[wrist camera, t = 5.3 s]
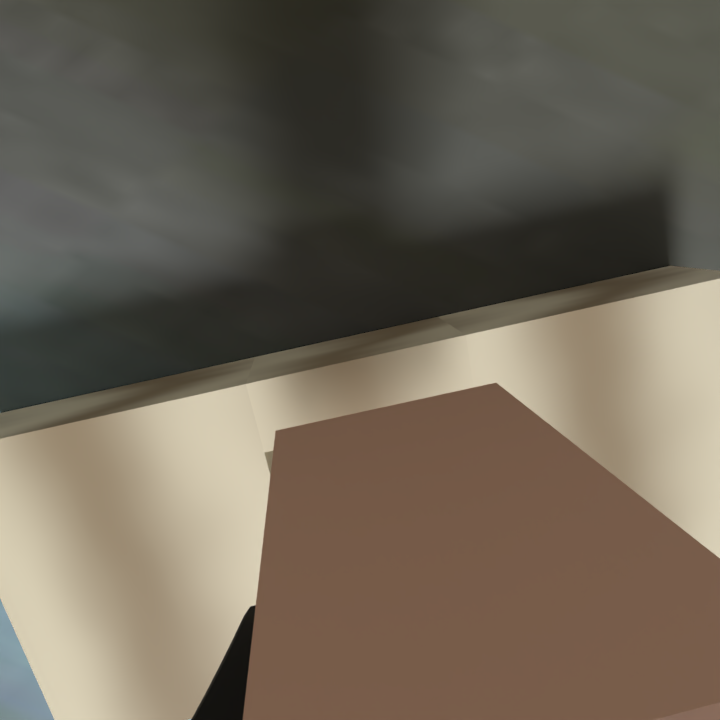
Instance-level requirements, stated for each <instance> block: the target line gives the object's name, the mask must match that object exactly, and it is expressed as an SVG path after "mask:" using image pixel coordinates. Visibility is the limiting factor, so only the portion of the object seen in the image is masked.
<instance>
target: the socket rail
mask: <svg viewBox="0 0 720 720" xmlns="http://www.w3.org/2000/svg"><path fill="white" fill-rule="evenodd" d="M492 383H497V384H499V385H500V386H501V387H502V388H504V389H505V390H506V391H508V392H509V393H510V394H511V395H513V396H514V397H515V398H516V399H518V400H519V401H520V402H522V403H523V404H524V405H525V406H527V407H528V408H529V409H530V410H532V411H533V412H534V413H536V414H537V415H538V416H539V417H541V418H542V419H543V420H544V421H546V422H547V423H548V424H550V425H551V426H552V427H553V428H555V429H556V430H557V431H558V432H560V433H561V434H562V435H563V436H565V437H566V438H567V439H569V440H570V441H571V442H572V443H574V444H575V445H576V446H577V447H579V448H580V449H581V450H583V451H584V452H585V453H586V454H588V455H589V456H590V457H591V458H593V459H594V460H595V461H597V462H598V463H599V464H600V465H602V466H603V467H604V468H605V469H607V470H608V471H609V472H611V473H612V474H613V475H614V476H616V477H617V478H618V479H619V480H621V481H622V482H623V483H625V484H626V485H627V486H628V487H630V488H631V489H632V490H633V491H635V492H636V493H637V494H639V495H640V496H641V497H642V498H644V499H645V500H646V501H647V502H649V503H650V504H651V505H652V506H654V507H655V508H656V509H658V510H659V511H660V512H661V513H663V514H664V515H665V516H666V517H668V518H669V519H670V520H672V521H673V522H674V523H675V524H677V525H678V526H679V527H680V528H682V529H683V530H684V531H686V532H687V533H688V534H689V535H691V536H692V537H693V538H694V539H696V540H697V541H698V542H700V543H701V544H702V545H703V546H705V547H706V548H707V549H708V550H710V551H711V552H712V553H714V554H715V555H716V556H717V557H719V558H720V271H716V270H707V269H697V268H688V267H678V266H667V267H662V268H658V269H653V270H648V271H644V272H639V273H635V274H630V275H626V276H621V277H617V278H612V279H608V280H603V281H598V282H594V283H589V284H585V285H580V286H576V287H571V288H567V289H562V290H558V291H553V292H548V293H544V294H539V295H535V296H530V297H526V298H521V299H517V300H512V301H507V302H503V303H498V304H494V305H489V306H485V307H480V308H476V309H471V310H467V311H462V312H457V313H453V314H448V315H444V316H439V317H435V318H430V319H426V320H421V321H417V322H412V323H407V324H403V325H398V326H394V327H389V328H385V329H380V330H376V331H371V332H366V333H362V334H357V335H353V336H348V337H344V338H339V339H335V340H330V341H326V342H321V343H316V344H312V345H307V346H303V347H298V348H294V349H289V350H285V351H280V352H276V353H271V354H266V355H262V356H257V357H253V358H248V359H244V360H239V361H235V362H230V363H225V364H221V365H216V366H212V367H207V368H203V369H198V370H194V371H189V372H185V373H180V374H175V375H171V376H166V377H162V378H157V379H153V380H148V381H144V382H139V383H135V384H130V385H125V386H121V387H116V388H112V389H107V390H103V391H98V392H94V393H89V394H84V395H80V396H75V397H71V398H66V399H62V400H57V401H53V402H48V403H44V404H39V405H34V406H30V407H25V408H21V409H16V410H12V411H7V412H3V413H0V599H1V601H2V603H3V606H4V608H5V610H6V612H7V614H8V617H9V619H10V621H11V623H12V626H13V628H14V630H15V632H16V635H17V637H18V639H19V641H20V643H21V646H22V648H23V650H24V652H25V655H26V657H27V659H28V661H29V664H30V666H31V668H32V670H33V672H34V675H35V677H36V679H37V681H38V684H39V686H40V688H41V690H42V693H43V695H44V697H45V699H46V701H47V704H48V706H49V708H50V710H51V713H52V715H53V717H54V719H55V720H187V719H191V718H192V717H193V715H194V714H195V712H196V710H197V708H198V706H199V704H200V703H201V701H202V699H203V697H204V695H205V693H206V691H207V689H208V688H209V686H210V684H211V682H212V680H213V678H214V676H215V674H216V672H217V670H218V668H219V666H220V664H221V662H222V660H223V658H224V656H225V654H226V652H227V650H228V648H229V646H230V644H231V642H232V640H233V638H234V636H235V633H236V631H237V629H238V627H239V625H240V623H241V621H242V619H243V617H244V615H245V613H246V612H247V610H248V609H249V608H250V606H254V605H256V598H257V590H258V581H259V572H260V563H261V554H262V545H263V537H264V528H265V519H266V510H267V501H268V493H269V484H270V475H271V466H272V457H273V448H274V440H275V431H276V430H281V429H285V428H290V427H295V426H299V425H304V424H308V423H313V422H317V421H322V420H327V419H331V418H336V417H340V416H345V415H350V414H354V413H359V412H363V411H368V410H373V409H377V408H382V407H386V406H391V405H395V404H400V403H405V402H409V401H414V400H418V399H423V398H428V397H432V396H437V395H441V394H446V393H450V392H455V391H460V390H464V389H469V388H473V387H478V386H483V385H487V384H492Z"/></svg>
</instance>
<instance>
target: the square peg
mask: <svg viewBox="0 0 720 720" xmlns="http://www.w3.org/2000/svg"><path fill="white" fill-rule="evenodd" d="M243 720H720V558H719V557H717V556H716V555H715V554H714V553H712V552H711V551H710V550H708V549H707V548H706V547H705V546H703V545H702V544H701V543H700V542H698V541H697V540H696V539H694V538H693V537H692V536H691V535H689V534H688V533H687V532H686V531H684V530H683V529H682V528H680V527H679V526H678V525H677V524H675V523H674V522H673V521H672V520H670V519H669V518H668V517H666V516H665V515H664V514H663V513H661V512H660V511H659V510H658V509H656V508H655V507H654V506H652V505H651V504H650V503H649V502H647V501H646V500H645V499H644V498H642V497H641V496H640V495H639V494H637V493H636V492H635V491H633V490H632V489H631V488H630V487H628V486H627V485H626V484H625V483H623V482H622V481H621V480H619V479H618V478H617V477H616V476H614V475H613V474H612V473H611V472H609V471H608V470H607V469H605V468H604V467H603V466H602V465H600V464H599V463H598V462H597V461H595V460H594V459H593V458H591V457H590V456H589V455H588V454H586V453H585V452H584V451H583V450H581V449H580V448H579V447H577V446H576V445H575V444H574V443H572V442H571V441H570V440H569V439H567V438H566V437H565V436H563V435H562V434H561V433H560V432H558V431H557V430H556V429H555V428H553V427H552V426H551V425H550V424H548V423H547V422H546V421H544V420H543V419H542V418H541V417H539V416H538V415H537V414H536V413H534V412H533V411H532V410H530V409H529V408H528V407H527V406H525V405H524V404H523V403H522V402H520V401H519V400H518V399H516V398H515V397H514V396H513V395H511V394H510V393H509V392H508V391H506V390H505V389H504V388H502V387H501V386H500V385H499V384H497V383H492V384H487V385H483V386H478V387H473V388H469V389H464V390H460V391H455V392H450V393H446V394H441V395H437V396H432V397H428V398H423V399H418V400H414V401H409V402H405V403H400V404H395V405H391V406H386V407H382V408H377V409H373V410H368V411H363V412H359V413H354V414H350V415H345V416H340V417H336V418H331V419H327V420H322V421H317V422H313V423H308V424H304V425H299V426H295V427H290V428H285V429H281V430H276V431H275V440H274V448H273V457H272V466H271V475H270V484H269V493H268V501H267V510H266V519H265V528H264V537H263V545H262V554H261V563H260V572H259V581H258V590H257V598H256V607H255V616H254V625H253V634H252V642H251V651H250V660H249V669H248V678H247V687H246V695H245V704H244V713H243Z"/></svg>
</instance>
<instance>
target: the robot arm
mask: <svg viewBox="0 0 720 720" xmlns="http://www.w3.org/2000/svg"><path fill="white" fill-rule="evenodd" d="M255 607H256V605H254V606H250V608H249V609H248V610H247V612H246V613H245V615H244V617H243V619H242V621H241V623H240V625H239V627H238V629H237V631H236V633H235V636H234V638H233V640H232V642H231V644H230V646H229V648H228V650H227V652H226V654H225V656H224V658H223V660H222V662H221V664H220V666H219V668H218V670H217V672H216V674H215V676H214V678H213V680H212V682H211V684H210V686H209V688H208V689H207V691H206V693H205V695H204V697H203V699H202V701H201V703H200V704H199V706H198V708H197V710H196V712H195V714H194V715H193V717H192V719H191V720H243V713H244V704H245V695H246V687H247V678H248V669H249V660H250V651H251V642H252V634H253V625H254V616H255Z"/></svg>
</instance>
